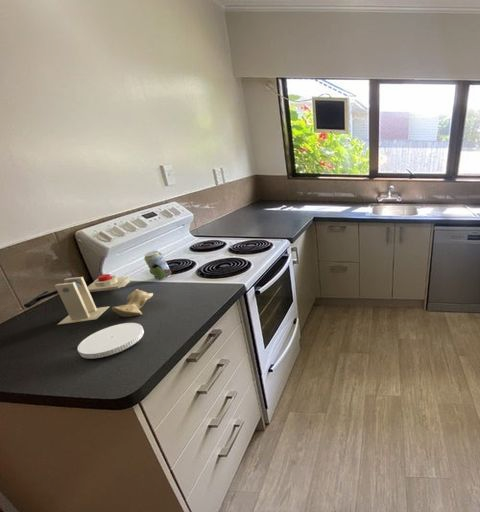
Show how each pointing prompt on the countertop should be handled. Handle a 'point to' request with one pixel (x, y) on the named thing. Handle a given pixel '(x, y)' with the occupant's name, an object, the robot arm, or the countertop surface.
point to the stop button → (104, 277)
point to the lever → (45, 296)
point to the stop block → (108, 284)
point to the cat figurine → (133, 304)
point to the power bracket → (78, 301)
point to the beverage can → (157, 265)
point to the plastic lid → (110, 340)
